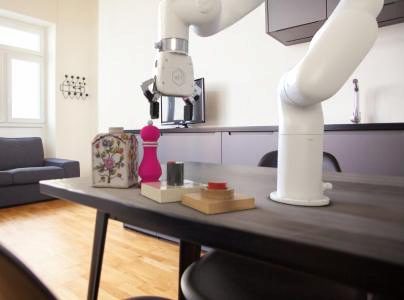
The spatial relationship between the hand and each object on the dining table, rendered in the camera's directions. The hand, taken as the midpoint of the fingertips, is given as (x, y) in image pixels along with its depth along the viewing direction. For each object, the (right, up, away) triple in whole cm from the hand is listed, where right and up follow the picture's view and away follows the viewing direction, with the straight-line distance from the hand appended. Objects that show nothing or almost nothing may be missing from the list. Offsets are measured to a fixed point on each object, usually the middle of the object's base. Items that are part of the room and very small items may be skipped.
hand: (171, 119), depth 74 cm
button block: (+9, -20, -9) cm, 24 cm away
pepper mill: (-6, -19, +14) cm, 24 cm away
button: (+9, -16, -10) cm, 21 cm away
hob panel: (+1, -19, +1) cm, 19 cm away
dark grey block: (+1, -16, +1) cm, 16 cm away
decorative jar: (-16, -19, +18) cm, 31 cm away
